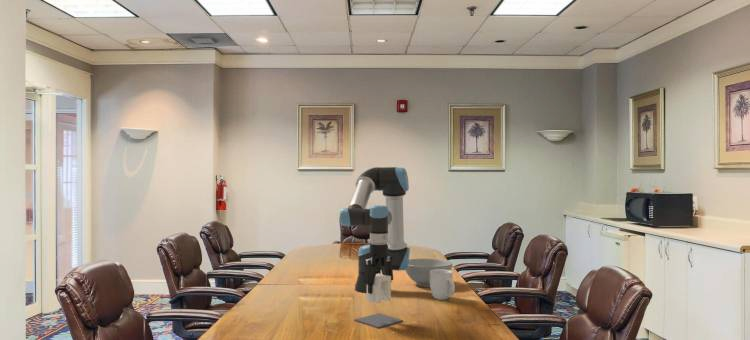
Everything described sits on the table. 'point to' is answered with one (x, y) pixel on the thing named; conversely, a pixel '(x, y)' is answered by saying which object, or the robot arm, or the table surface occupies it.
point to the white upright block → (381, 288)
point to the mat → (378, 320)
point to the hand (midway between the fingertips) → (378, 299)
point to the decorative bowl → (425, 269)
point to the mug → (441, 284)
